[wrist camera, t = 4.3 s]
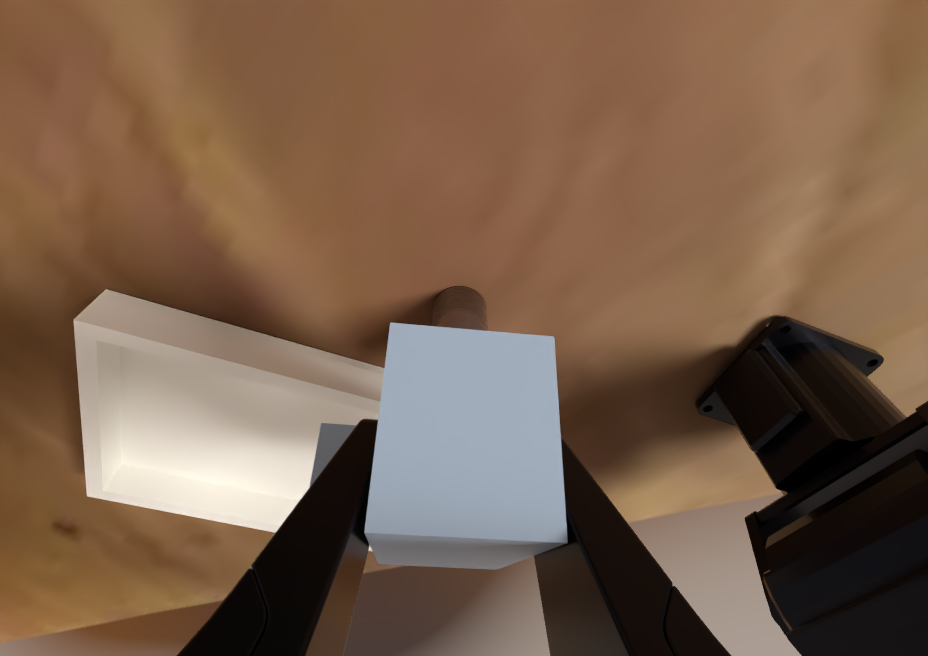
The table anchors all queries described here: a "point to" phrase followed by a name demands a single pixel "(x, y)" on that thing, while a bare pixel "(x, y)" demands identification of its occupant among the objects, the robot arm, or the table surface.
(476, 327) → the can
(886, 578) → the robot arm
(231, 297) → the table surface
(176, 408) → the tray
